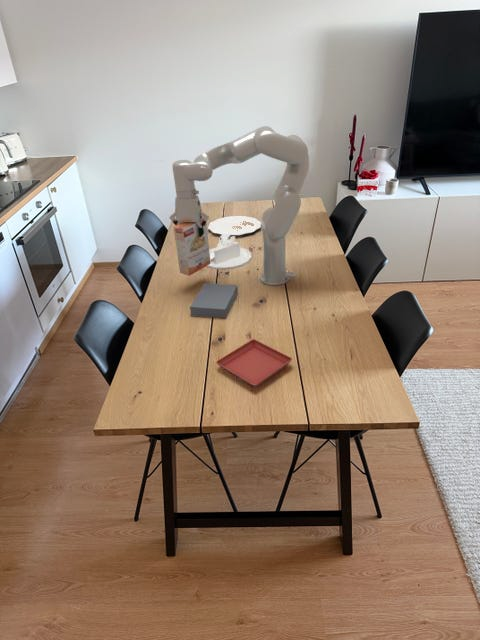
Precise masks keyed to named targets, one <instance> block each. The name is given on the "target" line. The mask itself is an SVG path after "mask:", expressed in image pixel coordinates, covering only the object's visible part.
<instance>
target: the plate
mask: <svg viewBox="0 0 480 640" xmlns="http://www.w3.org/2000/svg"><path fill="white" fill-rule="evenodd" d="M243 221H246V222H250V223H253V224H254V226H251V225H248V224H247V225H246V226H244V225H242V223H243ZM240 222H241V223H240ZM244 223H245V222H244ZM240 224H241V225H240ZM233 226H241V227H242V229H239V228H238V229H237V228H236V227H235V228H236V229H235V228H234V227H233ZM232 227H233V228H234V229H233V228H232ZM259 229H262V222H261V221H260V220H258V219H257V218H256V217H251V216H246V215H236V216H235V215H230V216H225V217H220V218H217V219H216V220H213V221H211V222H209V225H208V226H207V230H209V231H210V232H211V233H213V234H216V235H219V236H221V235H223V234H228V235H230V237H229V238H231V237H232V236H235V238H236V237H243V236H244V237H245V236H247V235H250V234H252V233H254V232H257V230H259ZM237 230H238V231H237Z"/></svg>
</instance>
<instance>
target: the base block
mask: <svg viewBox="0 0 480 640" xmlns="http://www.w3.org/2000/svg"><path fill="white" fill-rule="evenodd" d="M238 291H239V290H238V284H225V283H211V282H209V283H208V282H204V284H203V286H202V287H201V289H200V290H199V292H198V293H197V295H196V296H195V298H194V300H193V302H192V303H191V305H190V306H189V311H190V316H192V317H202V318H215V319H216V318H217V319H227V317H228V314H229V312H230V310H231V308H232V306H233V304H234V302H235V300H236V299H237V296H238V294H239V292H238Z"/></svg>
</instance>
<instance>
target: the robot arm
mask: <svg viewBox="0 0 480 640" xmlns="http://www.w3.org/2000/svg"><path fill="white" fill-rule="evenodd" d="M260 154H262V155H264V156H266V157H269V158H271V159H274V160H277V161H281V162H283V163H286V167H285V169H284V170H285V171H284V173H283V175H282V177H281V179H280V181H279V184H278V186H277V187H276V190H275V191H274V195H273V200H274V206H273V207H272V206H271V207H269V208H267V209H266V210H265V211H263V213H262V216H261V221H260V222H261V233H262V265H263V266H262V268H263V270H262V272H263V273H262V274H260V276H259V280H260V282H261V283H263V284H264V285H268V286H280V285H284V284H287V282H288V281H290V279H291V278H292V279H296V273H295V272H294V271H291V270H290V271H289V270H288V267H286V236H287V235H288V233H289V231H290V230H291V228H292V226H293V224H294V221H296V220H295V219H296V217H297V215H298V213H299V212H300V209H301V205H302V200H301V196H300V192H301V190H302V187H303V184H304V182H305V180H306V178H307V176H308V172H309V167H310V157H309V148H308V145H307V144H306V143H305V141H303V139H302V138H301V137H300V136H298V135H296V134H290V135H287V136H286V135H283V134H280V133H278V132H276V131H275V130H274V129H273V128H272V127H270V126H268V125H264V126H260V127H258V128H256V129H255V130H252V131H250V132H247V133H246V134H244V135H242V136H239V137H237V138H236V139H234V140H231V141H229V142H226V143H224V144H221V145H217V146H216V147H213V148H211V149H209V150H207V151H205V152H203V153H201V154H200V155H199V154H198V156H197V157H196V158H195V159H194V160H193V162H191V160H187V159H180V160H176V161H174V162H173V163H172V172H173V173H172V174H173V180H174V187H175V188H174V189H175V194H176V196H175V200H174V208H175V209H174V211H175V212H174V213H172V214H171V215H170V216H169V219H170V221H171V222H172V223H173V224H174V226H176V225H178V224H181V223H183V222H196V223H197V224H198V226H199V228H198V230H199V237H202V236H203V234H204V229H203V226H204V225H205V224H206V223H207V222H208V220H210V216H209V215H207V214H206V213H205V212H204V211H203V209H202V205H201V201H200V198H199V196H198V195H199V194H200V191H199V190H197V189H196V186H195V181H196V182H206V181H209V180H210V179H211V178H212V176H213V173H214V172H213V171H214V170H216V169H218V168H220V167H223V166H225V165H229V164H235V165H236V164H242V163H245V162H246V161H248V160H251V159H252V158H254V157H256V156H257V157H258V156H259V155H260ZM202 218H204V221H203V222H202V220H201V219H202Z"/></svg>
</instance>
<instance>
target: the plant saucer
mask: <svg viewBox="0 0 480 640" xmlns="http://www.w3.org/2000/svg"><path fill="white" fill-rule="evenodd" d="M292 361H293V358H292V357H291V356H289V355H287V354H285V353H283V352H280V350H279V351H278V350H277V349H275V348H273V347H271V346H269V345H267V344H265V343H263V342H261V341H259V340H258V339H253V338H252V339H251V340H249V341H246V342H245V343H244V344H243V345H241V346H238V348H236V349H234V350H233V351H230V352H229V353H227V354H226V355H224V356H222V357H221V358H220V359H217V361H216V362H215V363H216V364H217V366H219V367H220V368H222V369H223V370H225V371H226V372H228V373H230V374H231V375H233V376H235V377H237V378H238V379H240V380H241V381H243V382H245V383H246V384H248V385H250V386H252V387H254V388H257V387H258V386H260V385H261V384H262V383H264V382H266V380H268V379H270V378H271V377H272V376H274V375H275V374H276V373H278V372H279V371H281V370H282V369H284V368H285V367H287V366H288V365H289V364H290V363H291V362H292Z"/></svg>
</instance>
